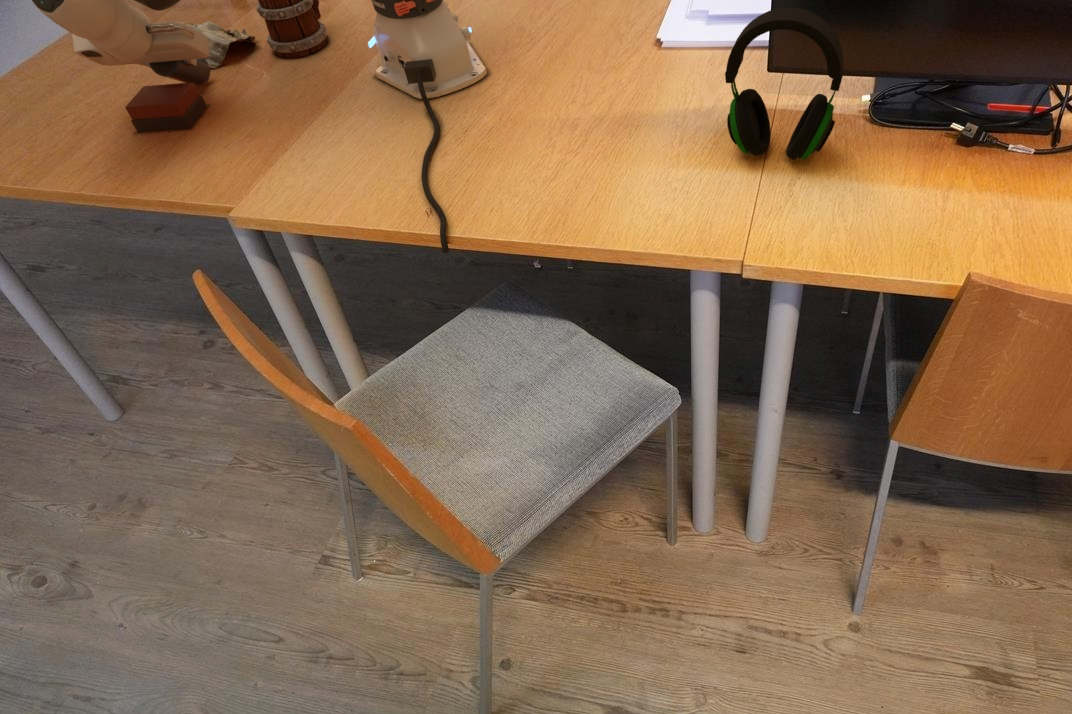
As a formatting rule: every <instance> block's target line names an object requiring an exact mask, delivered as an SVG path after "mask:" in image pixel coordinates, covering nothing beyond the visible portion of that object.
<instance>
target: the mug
mask: <svg viewBox="0 0 1072 714" xmlns="http://www.w3.org/2000/svg"><path fill="white" fill-rule="evenodd" d="M257 2H258V3H257V4H256V9H255V11H256V12H257V13H258V15H259V16H260V17H261V18H262V19H264V21H265V25H266V27H267V30H268V35H267V39H266V43H267V44H268V45H269V48H270V49H271V50H272V51H274V53H275V54H276V55H277V56H278V57H281V58H287V59H291V58H292V59H294V58H300V57H301V58H302V57H305V56H309V55H310V53H311V54H314V53H316V52H318V51H319V50H321V49H322V48H323V47H325V46H326V44H327V40H328V39H327V36H328V33H327V32H328V31H327V28H326V25H325V24H324V23H323V22H321V21H320V19H321V17H322V15H321V12H320V9H319V7H320V1H319V0H257Z"/></svg>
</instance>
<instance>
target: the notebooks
mask: <svg viewBox="0 0 1072 714" xmlns="http://www.w3.org/2000/svg"><path fill="white" fill-rule="evenodd" d="M207 107H208V105H207V103H206V102H205V99H204V97H203V96H202V94H200V93H199V91H198V89H197V86H195V85H194V83H193V82H191V83H184V82H180V83H169V84H168V83H167V84H155V85H154V84H152V85H144V86H142V87H141V88H140V90H138V91H137V93H136V94H135V95H134V96H133V97H132V99H130V101H129V102H128V103H127V104H126V106H125V107H124V108H125V110H126V112H127V114H128V115H129V117H130V118H131V120H130V122H131V124H132V125H133V127H134V129H135V130H136V132H137V133H149V132H150V133H151V132H164V131H176V130H177V131H179V130H190V129H192V128H193V126H194V125H195V123H196V122H197V120H198V119H199V117H201V114H203V112H204V111H205V109H207Z"/></svg>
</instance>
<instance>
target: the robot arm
mask: <svg viewBox="0 0 1072 714" xmlns="http://www.w3.org/2000/svg"><path fill="white" fill-rule="evenodd" d="M31 1H32V4H33V5H34V6H35V8H37V9H38V10H39V11H40V12H41V13H42V14H43V15H44V16H45V17H46V18H48V19H49V20H51V21H52V22H53V23H55V24H56V25H58V26H59V27H61V28H62V29H64V30H66V31H67V32H69V33H71V37H72V46H73V51H74V54H76V55H78V56H80V57H82V58H86V59H88V60H90V61H91V62H93V63H96V64H98V65H101V66H107V67H115V66H127V65H128V66H129V65H139V66H144V67H148V68H149V69H151V70H152V68H151V67H150V65H149V63H153V62H165V61H177V60H183V63H184V64H186V65H187V66H195V65H197V60H196V59H202V58H207V57H208V56H209V40H208V37H207V36H206V35H204V34H203V33H201V32H200V31H198V30H196V29H194V28H193V27H191V26H189V25H187V24H184V23H185V22H180V21H161V22H160V21H159V22H151V21H150V19H149V18H148V16H147V15H146V14H145V13H144V12H143V11H141V10H140V9H139V8H137V7H136V6H134V5H132V3H129V2H128V1H127V0H31ZM133 1H135V2H136V3H139V4H140V5H143V6H144V7H147V8H149V9H150V10H154V11H160V12H161V11H164V10H167V9H170V8H171V7H174V6H175V5H177V4H178V3H179V2H180V1H181V0H133ZM370 2H371V3H372V6H373V9H374V11H375V13H376V14H375V15H376V18H375V19H374V23H373V25H372V27H371V29H372V34H373V36H372V38H371V39H370V40H369V41H368V42H367V45H368V48H369V49H371V48H373V46H374V45H376V49H377V52H378V53H377V54H378V57H379V60H380V65H379V67H377V68H376V70H375V75H376V78H377V79H379V80H381V81H383V82H385V83H387V84H389V85H391V86H392V87H395V88H397V89H399V90H400V91H402V92H404V93H406V94H408V95H410V96H412V97H414V98H415V99H418V100H422V102H423V104H424V106H425V109H426V113H427V114H428V116H429V119H430V120H431V122H432V124H433V135H432V138H431V140H430V141H429V145H427V148H426V150H425V152H424V155H423V160H422V165H421V184H422V190H423V192H424V196H425V197H426V199H427V201H428V202H429V204H430V205H431V207H432V208H433V209H434V212H436V214H437V216H438V218H439V222H440V227H439V239H440V245H441V250H442V253H444V254H447V253H449V252H450V249H449V244H448V236H447V230H448V222H447V217H446V214H445V212H444V210H443V208H442V207H441V206H440V204H439V203H438V201H437V200H436V199H435V196H433V194H432V191H431V189H430V186H429V179H428V178H429V177H428V174H429V165H430V160H431V156H432V153H433V151H434V149H435V146H437V142H438V141H439V138H440V131H441V130H440V123H439V120H438V119H437V117H436V115H435V113H434V111H433V108H432V106H431V103H430V101H429V99H434V98H438V97H442V96H445V95H449V94H451V93H454V92H457V91H460V90H462V89H465V88H467V87H469V86H472V85H474V84H476V83H477V82H479V81H480V80H482V79H483V78H484V77H485V76H486V75H488V72H487V68H486V67H485V65H484V64H483V62H482V60H481V58H479V56H478V55H477V53H476V51H475V50H474V49H473V47H472V45H471V44H470V42H469V41H471V40H472V35H471V33H472V32H473V30H472V27H471V26H469V27H468V26H461V27H460V26H459V24H458V23H459V17H458V15H457V13H452V12H451V10H450V8H449V7H448V3H447V2H446V1H445V0H370Z"/></svg>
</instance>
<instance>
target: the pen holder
mask: <svg viewBox="0 0 1072 714" xmlns="http://www.w3.org/2000/svg"><path fill="white" fill-rule="evenodd" d="M196 60H197V65H195V66H187V65H186V64H184V63H183V60H177V61H165V62H153V63H149V65H150V67H151V68H152V69H151V68H150V69H151V71H153V72H154V73H155V74H156V75H158V76H161V77H164V78H167V79H171V80H174V81H177V82H180V83H191V82H193V83H194V85H195V87H201V86H203V85H205V84H206V83H207V82H208V81H209V79H210V77H211V67H209V64H208V62H207V61H206V60H205V59H204V58H202V59H196Z"/></svg>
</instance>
